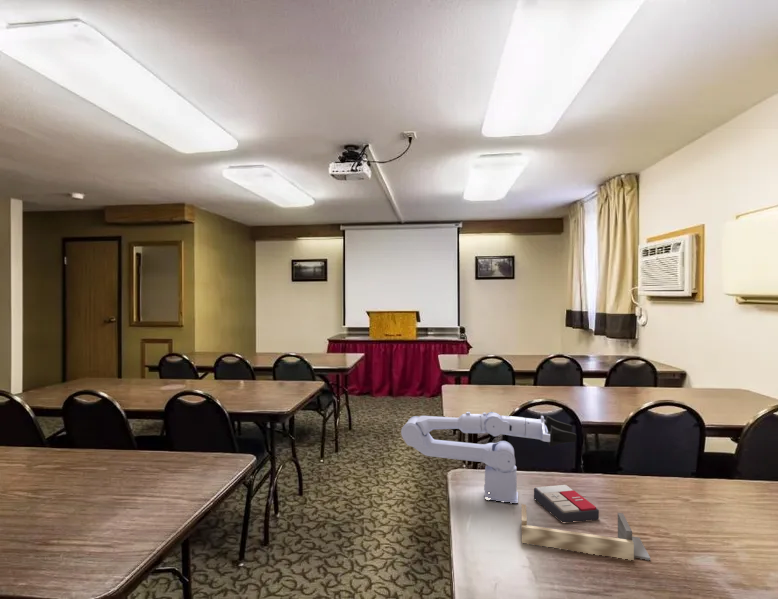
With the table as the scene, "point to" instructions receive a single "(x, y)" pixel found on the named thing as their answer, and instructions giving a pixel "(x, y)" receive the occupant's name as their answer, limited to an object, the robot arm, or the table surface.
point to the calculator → (565, 503)
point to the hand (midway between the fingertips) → (573, 433)
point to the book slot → (586, 540)
